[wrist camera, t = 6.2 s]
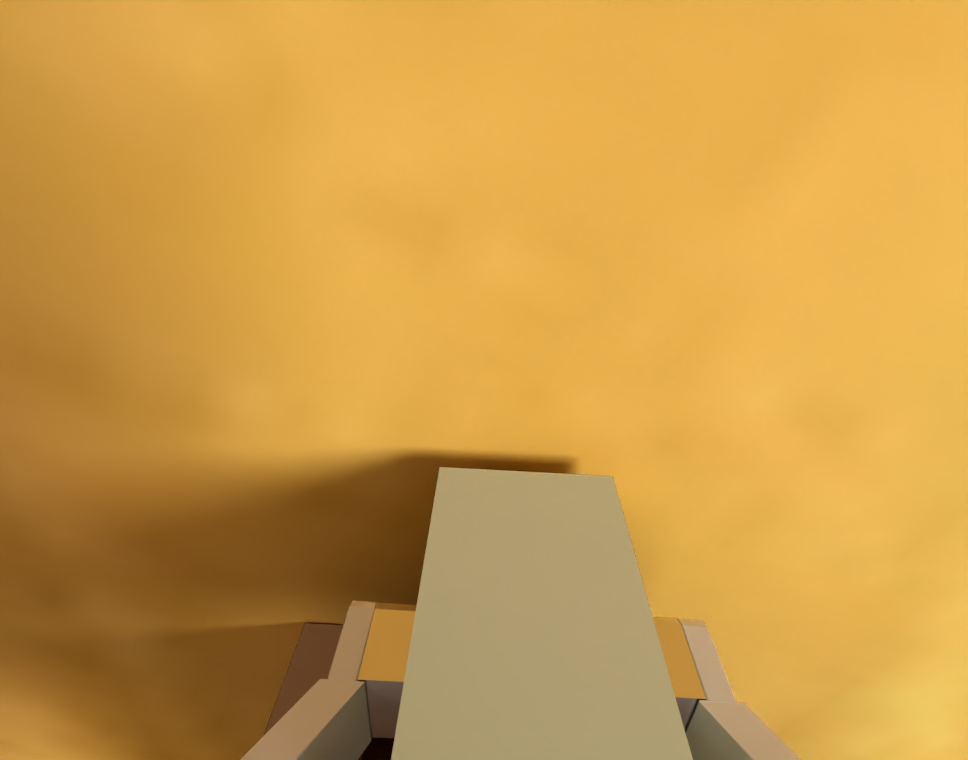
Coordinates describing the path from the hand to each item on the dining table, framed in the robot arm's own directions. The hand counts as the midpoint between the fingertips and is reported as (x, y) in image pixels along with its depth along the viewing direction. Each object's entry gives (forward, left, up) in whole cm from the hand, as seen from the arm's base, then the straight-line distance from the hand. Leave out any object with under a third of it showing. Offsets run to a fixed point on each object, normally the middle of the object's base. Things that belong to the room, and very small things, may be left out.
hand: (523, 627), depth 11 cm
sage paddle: (+6, 0, -3) cm, 7 cm away
